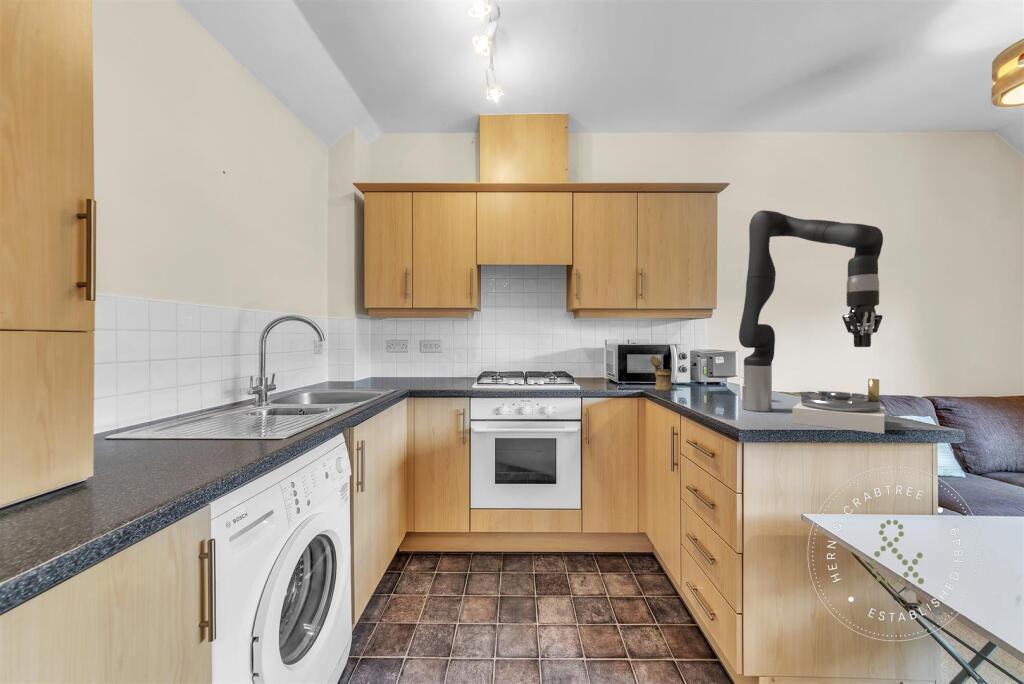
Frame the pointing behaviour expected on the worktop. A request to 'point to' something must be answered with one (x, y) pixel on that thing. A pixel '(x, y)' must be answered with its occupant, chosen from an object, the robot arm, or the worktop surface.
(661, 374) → the utensil crock with spoon
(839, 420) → the block
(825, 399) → the handwheel with gold grip
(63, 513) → the worktop surface
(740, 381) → the white cup
